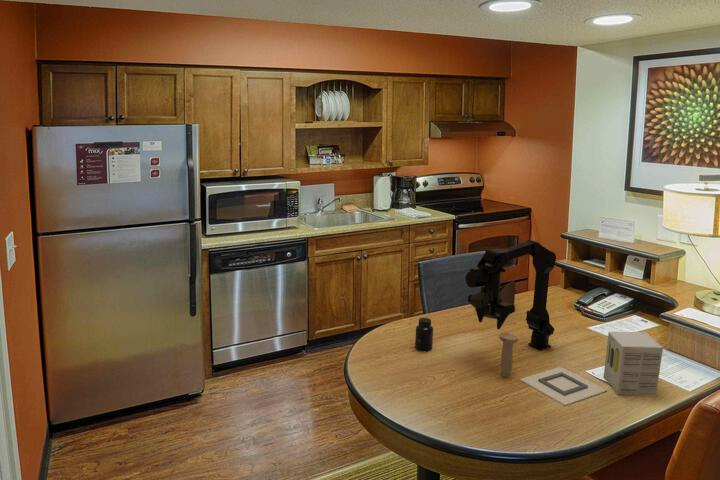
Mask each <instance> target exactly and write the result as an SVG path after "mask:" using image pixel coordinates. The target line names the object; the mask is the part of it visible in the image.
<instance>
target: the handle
mask: <svg viewBox="0 0 720 480" xmlns="http://www.w3.org/2000/svg"><path fill="white" fill-rule="evenodd" d="M498 337H499V340H500V341H501V342H502V351H501V358H500V375H501V376H502V377H503V378H509V377H511V375H512V373H511V372H512V369H513V362H514V361H513V357H514V355H513V351H514V350H513V348H514V347H513V346H514V344H515V343H517V342H518V339H519V338H518V337H517V336H516V335H515V334H512V333H508V332H502V333H499V335H498Z"/></svg>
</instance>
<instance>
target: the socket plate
mask: <svg viewBox="0 0 720 480" xmlns="http://www.w3.org/2000/svg"><path fill="white" fill-rule="evenodd" d="M519 381H520V382H522V383H524V384H526V385H527V386H529V387H531V388H532V389H534V390H536V391H538V392H539V393H541V394H543V395H545V396H547V397H548V398H550V399H552V400H554V402H557V403H558V404H560V403H561V404H560V405H562V404H563V405H562V406H564V405H565V406H564V407H566V405H567V406H569V405H568V404H570V405H572V404H571V403H573V404H575V403H574V402H576V403H578V402H577V401H579V402H581V401H584V400H586V398H587V399H589V398H588V397H590V398H592V397H591V396H593V397H595V396H594V395H596V396H598V395H597V394H599V393H602V394H604V393H603V392H605V391H607V392H608V390H607V389H606V388H604V387H601V386H600V385H598V384H595V383H593V382H591V381H590V380H587V379H586V378H583V377H582V376H579V375H577V374H575V373H574V372H571V371H570V370H567V369H565V368H563V367H561V366H559V367H555V368H552V369H549V370H546V371H543V372H539V373H535V374H532V375H529V376H526V377H522V378H520V379H519ZM605 393H606V392H605ZM599 395H600V394H599ZM583 399H584V400H583ZM580 400H581V401H580Z"/></svg>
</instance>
